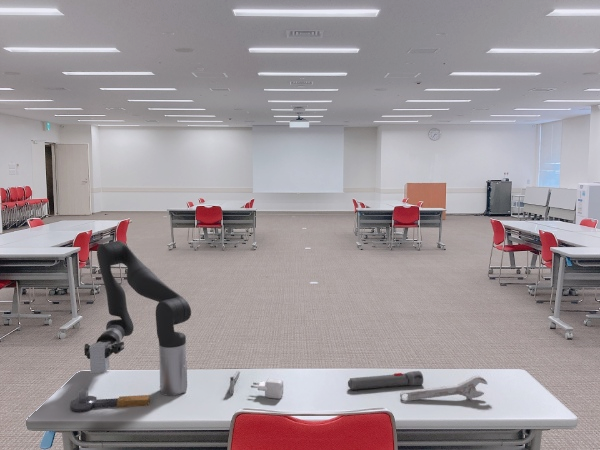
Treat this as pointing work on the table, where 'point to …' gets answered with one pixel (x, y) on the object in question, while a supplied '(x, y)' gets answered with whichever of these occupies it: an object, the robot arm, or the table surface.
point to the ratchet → (105, 401)
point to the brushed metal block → (98, 357)
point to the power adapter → (271, 388)
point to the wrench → (448, 390)
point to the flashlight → (386, 380)
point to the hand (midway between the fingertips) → (97, 355)
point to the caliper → (233, 382)
